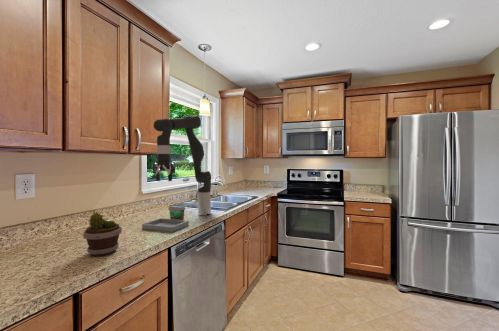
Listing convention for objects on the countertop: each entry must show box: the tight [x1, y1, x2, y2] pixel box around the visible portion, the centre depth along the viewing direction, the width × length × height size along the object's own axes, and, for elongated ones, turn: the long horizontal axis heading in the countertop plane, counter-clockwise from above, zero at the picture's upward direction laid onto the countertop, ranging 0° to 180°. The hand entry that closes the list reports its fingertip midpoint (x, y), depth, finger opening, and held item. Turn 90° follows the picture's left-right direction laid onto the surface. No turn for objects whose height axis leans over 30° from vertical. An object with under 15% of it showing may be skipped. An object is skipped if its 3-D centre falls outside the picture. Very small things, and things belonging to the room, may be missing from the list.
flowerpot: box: [82, 210, 123, 257], centre depth 108 cm, size 14×15×20 cm
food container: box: [168, 205, 186, 220], centre depth 163 cm, size 12×6×10 cm, turn 71°
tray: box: [141, 217, 190, 233], centre depth 149 cm, size 16×22×3 cm
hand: (164, 180), depth 141 cm, fingers open, 8 cm apart
